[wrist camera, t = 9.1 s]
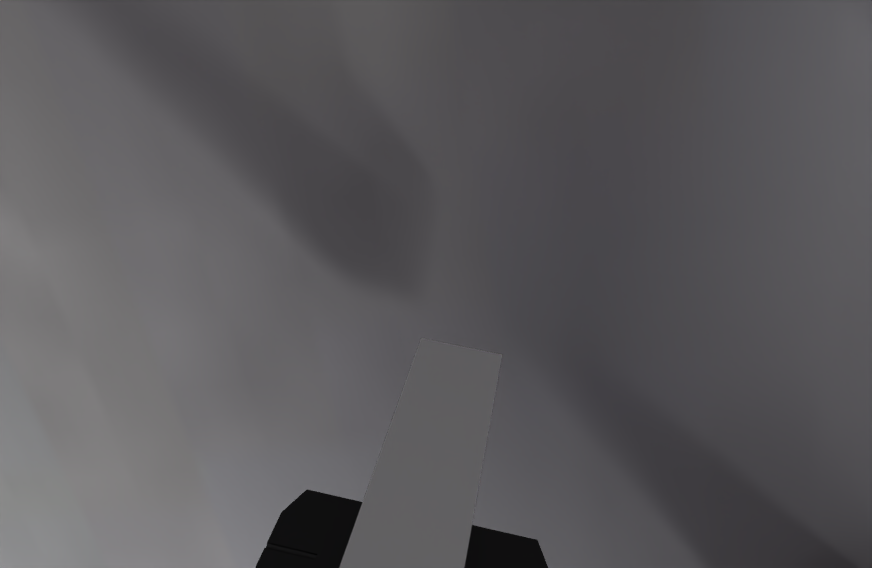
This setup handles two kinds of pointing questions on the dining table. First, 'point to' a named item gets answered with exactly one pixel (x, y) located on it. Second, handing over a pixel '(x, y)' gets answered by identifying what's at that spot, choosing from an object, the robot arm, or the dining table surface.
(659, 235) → the dining table surface
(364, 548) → the robot arm
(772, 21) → the dining table surface
